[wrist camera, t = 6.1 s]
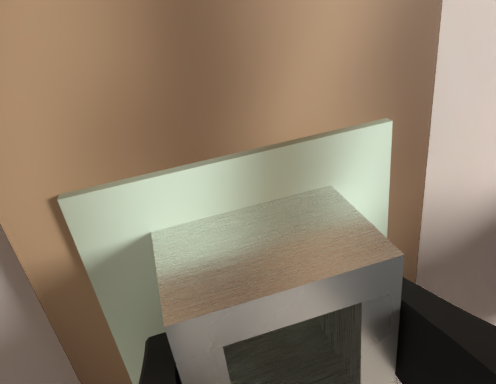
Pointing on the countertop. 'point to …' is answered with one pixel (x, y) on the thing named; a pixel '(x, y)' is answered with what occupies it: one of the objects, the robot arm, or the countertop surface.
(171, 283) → the white square frame
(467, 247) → the countertop surface
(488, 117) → the countertop surface
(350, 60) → the board
